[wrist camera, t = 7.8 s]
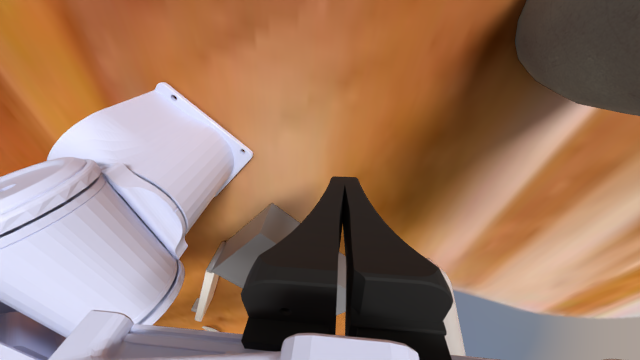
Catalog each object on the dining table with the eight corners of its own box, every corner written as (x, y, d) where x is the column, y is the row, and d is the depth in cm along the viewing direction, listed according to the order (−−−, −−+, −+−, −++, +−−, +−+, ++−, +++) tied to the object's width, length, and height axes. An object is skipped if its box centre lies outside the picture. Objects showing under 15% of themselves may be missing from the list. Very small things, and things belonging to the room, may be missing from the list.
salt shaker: (427, 284, 32) (466, 415, 22) (389, 274, 32) (410, 403, 21) (453, 260, 29) (515, 401, 18) (411, 248, 28) (450, 386, 18)
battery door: (214, 238, 30) (198, 264, 27) (229, 243, 31) (215, 269, 27) (201, 293, 39) (188, 318, 36) (213, 296, 39) (201, 321, 36)
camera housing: (226, 241, 31) (207, 277, 27) (272, 202, 26) (257, 239, 22) (314, 294, 36) (309, 331, 32) (364, 270, 32) (367, 310, 27)
